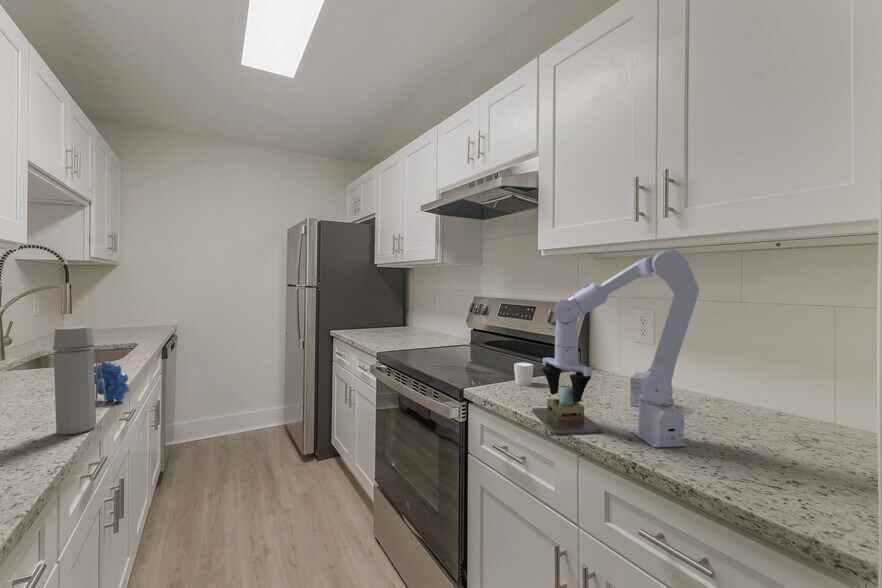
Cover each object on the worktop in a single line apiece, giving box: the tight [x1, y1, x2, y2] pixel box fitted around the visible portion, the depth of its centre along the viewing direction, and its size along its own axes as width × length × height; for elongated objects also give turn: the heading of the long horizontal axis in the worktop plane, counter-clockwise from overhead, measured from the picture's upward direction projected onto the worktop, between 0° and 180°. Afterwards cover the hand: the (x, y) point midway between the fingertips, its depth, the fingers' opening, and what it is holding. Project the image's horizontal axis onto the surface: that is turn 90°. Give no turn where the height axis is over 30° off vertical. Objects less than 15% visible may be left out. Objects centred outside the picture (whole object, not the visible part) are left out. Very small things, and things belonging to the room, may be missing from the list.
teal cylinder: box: [558, 385, 573, 416], centre depth 103 cm, size 4×4×8 cm
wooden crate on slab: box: [531, 398, 603, 435], centre depth 103 cm, size 16×12×5 cm
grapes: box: [94, 360, 130, 402], centre depth 116 cm, size 12×7×12 cm, turn 82°
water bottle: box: [52, 325, 106, 436], centre depth 95 cm, size 9×8×25 cm
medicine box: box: [629, 372, 645, 408], centre depth 118 cm, size 8×4×9 cm, turn 143°
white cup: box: [513, 361, 534, 387], centre depth 140 cm, size 7×7×7 cm
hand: (565, 397), depth 103 cm, fingers open, 7 cm apart
